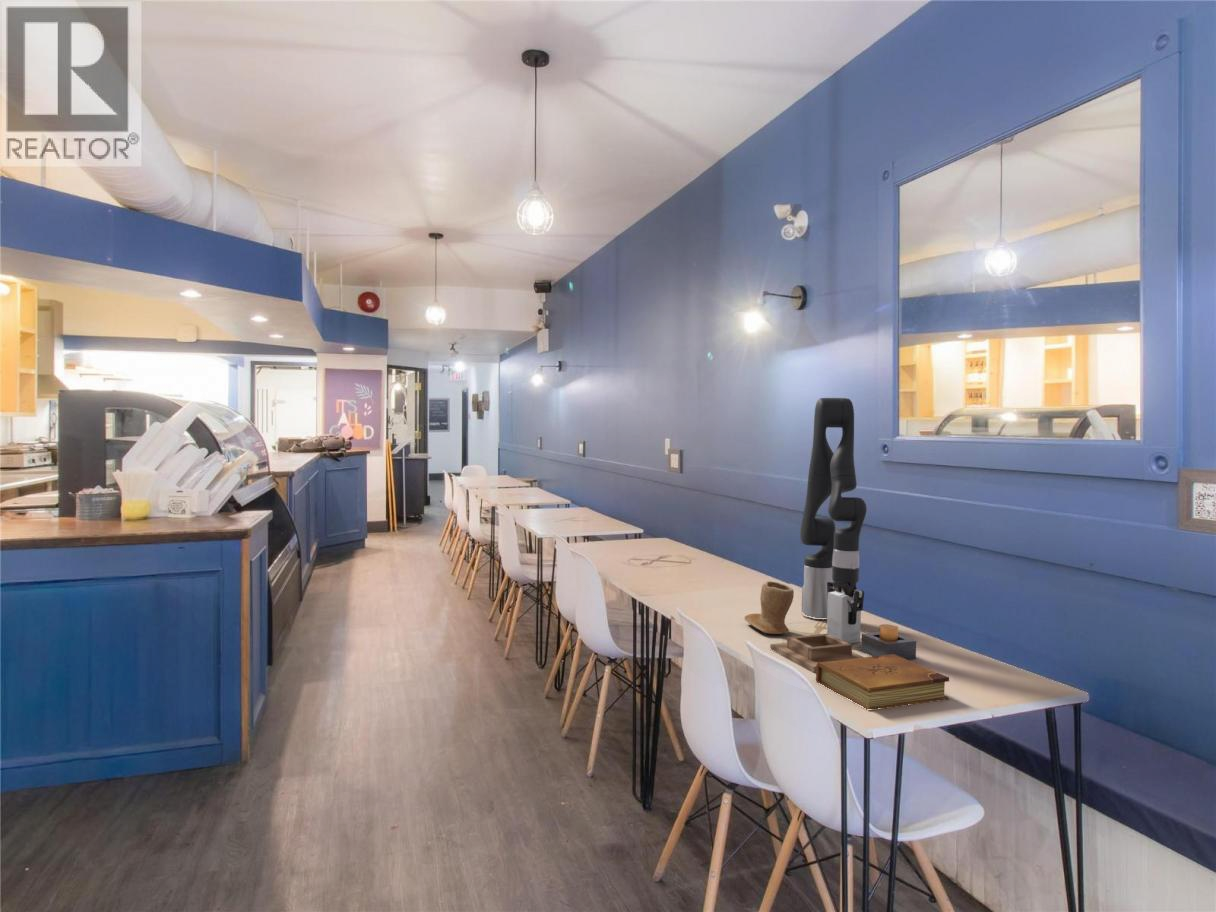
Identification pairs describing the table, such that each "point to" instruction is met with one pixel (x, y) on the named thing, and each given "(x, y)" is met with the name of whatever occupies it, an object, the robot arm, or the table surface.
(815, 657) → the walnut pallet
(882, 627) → the button
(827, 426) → the robot arm
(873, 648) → the button housing
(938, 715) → the table surface
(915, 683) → the diary
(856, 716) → the table surface
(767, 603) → the brown hat
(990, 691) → the table surface
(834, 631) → the skincare box
